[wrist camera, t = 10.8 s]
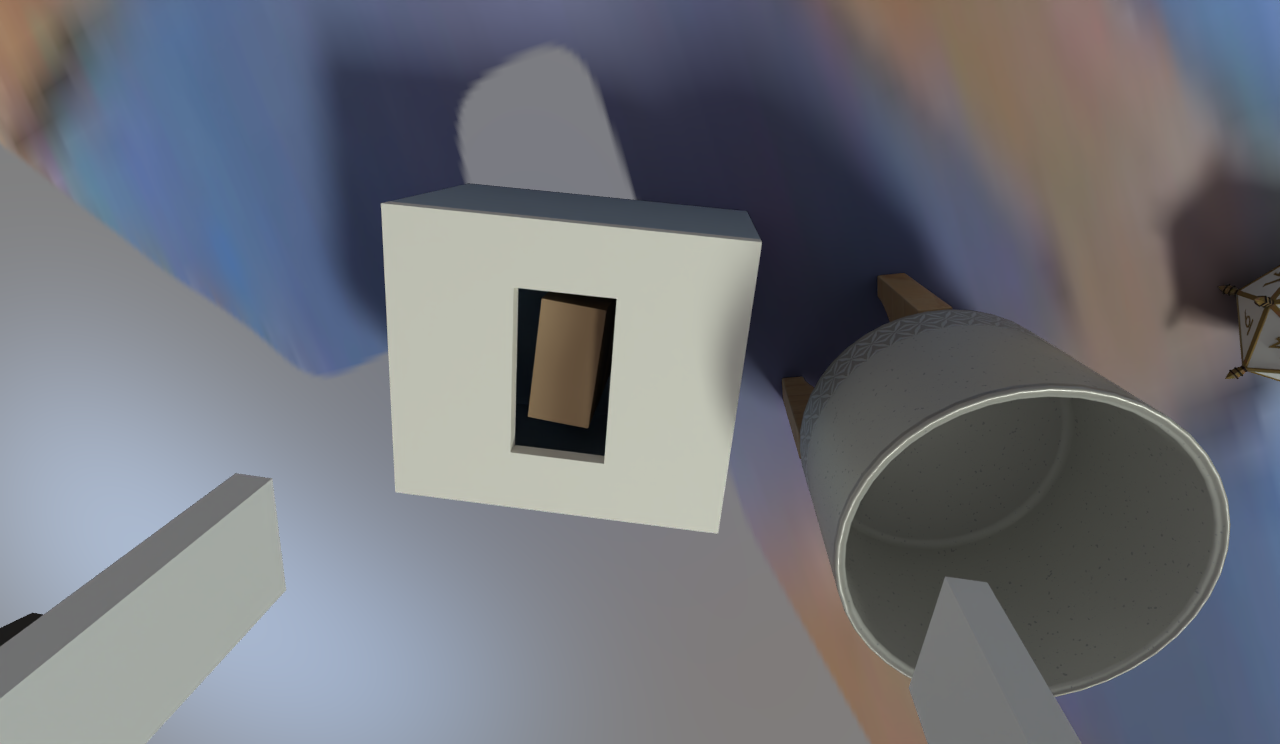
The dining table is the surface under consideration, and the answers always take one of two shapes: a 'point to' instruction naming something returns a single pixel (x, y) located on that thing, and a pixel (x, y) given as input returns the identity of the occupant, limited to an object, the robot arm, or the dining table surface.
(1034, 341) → the planter
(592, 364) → the block
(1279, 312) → the game die
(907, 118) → the dining table surface
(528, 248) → the coin box
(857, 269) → the dining table surface
